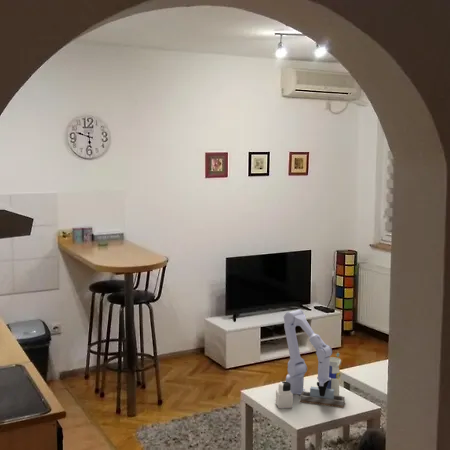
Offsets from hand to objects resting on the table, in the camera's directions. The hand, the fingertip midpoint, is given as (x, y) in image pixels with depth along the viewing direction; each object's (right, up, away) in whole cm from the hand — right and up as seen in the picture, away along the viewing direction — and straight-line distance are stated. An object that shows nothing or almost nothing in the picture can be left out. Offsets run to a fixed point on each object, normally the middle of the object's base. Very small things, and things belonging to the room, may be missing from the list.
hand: (322, 394), depth 315 cm
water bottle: (+7, -3, +10) cm, 13 cm away
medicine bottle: (-20, -4, -5) cm, 21 cm away
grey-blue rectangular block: (0, -3, 0) cm, 3 cm away
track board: (0, -4, 0) cm, 4 cm away
